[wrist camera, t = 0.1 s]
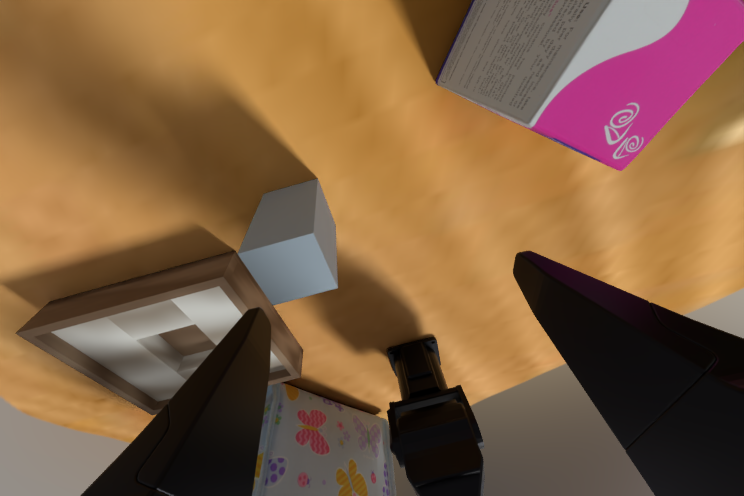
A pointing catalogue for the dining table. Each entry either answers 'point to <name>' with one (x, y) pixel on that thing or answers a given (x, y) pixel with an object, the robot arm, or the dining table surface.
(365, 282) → the dining table surface
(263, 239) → the peg
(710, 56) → the supplement box
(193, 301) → the shallow tray
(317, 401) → the lunch bag
